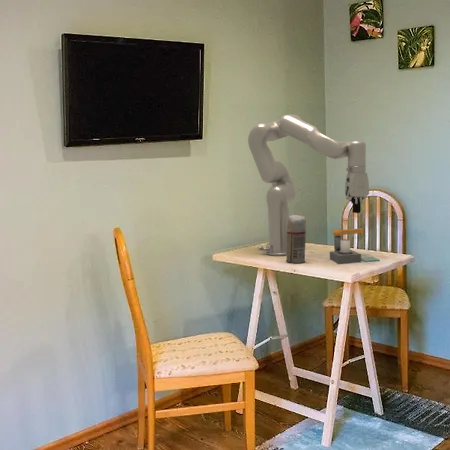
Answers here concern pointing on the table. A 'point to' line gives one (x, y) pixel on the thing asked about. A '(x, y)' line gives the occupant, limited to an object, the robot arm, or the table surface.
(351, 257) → the socket block
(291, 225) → the spray can
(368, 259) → the mat
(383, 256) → the table surface
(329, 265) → the table surface
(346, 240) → the plug
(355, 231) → the orange rectangular bar
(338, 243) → the post
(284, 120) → the robot arm
